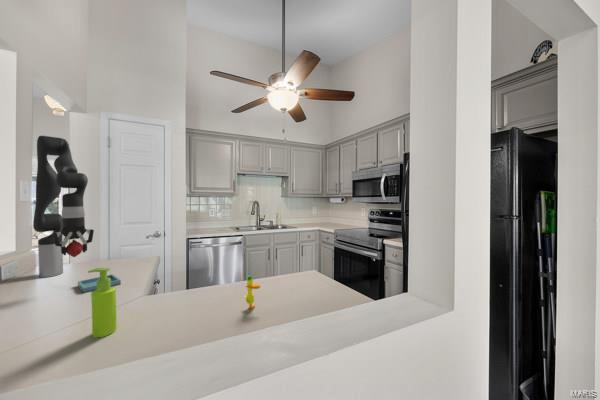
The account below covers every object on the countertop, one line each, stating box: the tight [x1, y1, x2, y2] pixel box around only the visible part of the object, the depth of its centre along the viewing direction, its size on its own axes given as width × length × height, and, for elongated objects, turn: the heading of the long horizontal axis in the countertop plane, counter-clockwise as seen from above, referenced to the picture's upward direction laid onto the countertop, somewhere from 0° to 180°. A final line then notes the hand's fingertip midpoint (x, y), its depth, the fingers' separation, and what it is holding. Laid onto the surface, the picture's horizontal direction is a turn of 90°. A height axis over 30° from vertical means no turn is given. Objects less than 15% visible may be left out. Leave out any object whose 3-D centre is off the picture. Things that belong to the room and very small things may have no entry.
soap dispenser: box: [87, 267, 118, 339], centre depth 76 cm, size 6×7×20 cm
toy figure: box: [243, 275, 261, 310], centre depth 92 cm, size 7×4×12 cm, turn 77°
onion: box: [66, 239, 83, 258], centre depth 112 cm, size 6×6×8 cm
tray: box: [77, 273, 122, 294], centre depth 117 cm, size 14×14×2 cm
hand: (74, 253), depth 112 cm, fingers closed on onion, 6 cm apart
